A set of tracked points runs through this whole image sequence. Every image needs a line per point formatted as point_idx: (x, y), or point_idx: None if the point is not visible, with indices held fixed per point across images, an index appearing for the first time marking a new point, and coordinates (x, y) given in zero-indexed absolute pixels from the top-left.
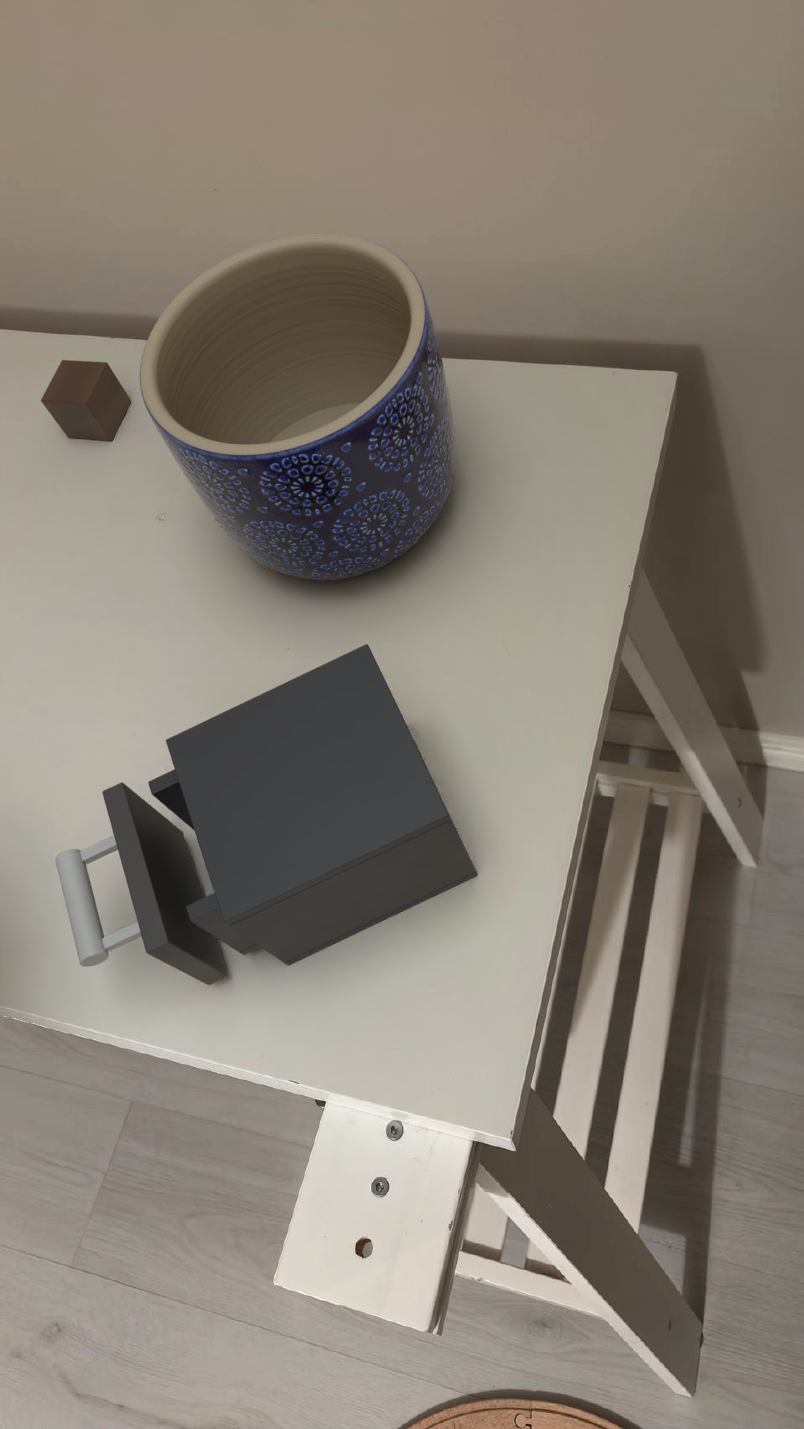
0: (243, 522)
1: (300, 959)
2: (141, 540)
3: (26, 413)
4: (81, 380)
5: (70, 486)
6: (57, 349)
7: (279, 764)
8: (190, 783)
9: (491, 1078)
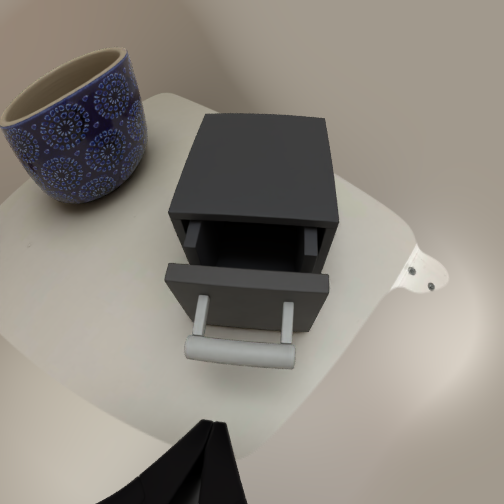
0: (85, 149)
1: None
2: (28, 259)
3: None
4: None
5: None
6: None
7: (243, 160)
8: (215, 207)
9: (400, 226)
